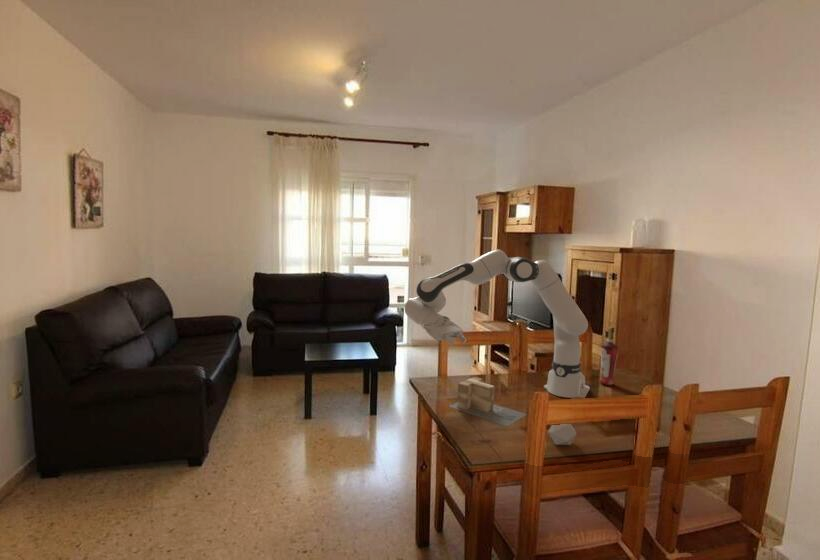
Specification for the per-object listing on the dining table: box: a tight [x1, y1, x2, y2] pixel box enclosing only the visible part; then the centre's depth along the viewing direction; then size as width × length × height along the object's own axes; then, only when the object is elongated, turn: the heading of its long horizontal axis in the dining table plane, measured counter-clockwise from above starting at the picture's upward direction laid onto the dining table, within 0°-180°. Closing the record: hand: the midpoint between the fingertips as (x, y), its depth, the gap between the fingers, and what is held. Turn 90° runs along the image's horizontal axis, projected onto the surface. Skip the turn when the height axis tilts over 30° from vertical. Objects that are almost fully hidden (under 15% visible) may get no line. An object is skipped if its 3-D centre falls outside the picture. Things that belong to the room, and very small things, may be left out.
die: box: [547, 423, 577, 446], centre depth 161 cm, size 8×9×10 cm
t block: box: [456, 376, 495, 413], centre depth 190 cm, size 12×12×10 cm
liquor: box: [598, 326, 619, 386], centre depth 224 cm, size 7×7×28 cm
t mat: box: [448, 402, 528, 427], centre depth 187 cm, size 16×27×1 cm, turn 49°
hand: (459, 341), depth 191 cm, fingers open, 8 cm apart
